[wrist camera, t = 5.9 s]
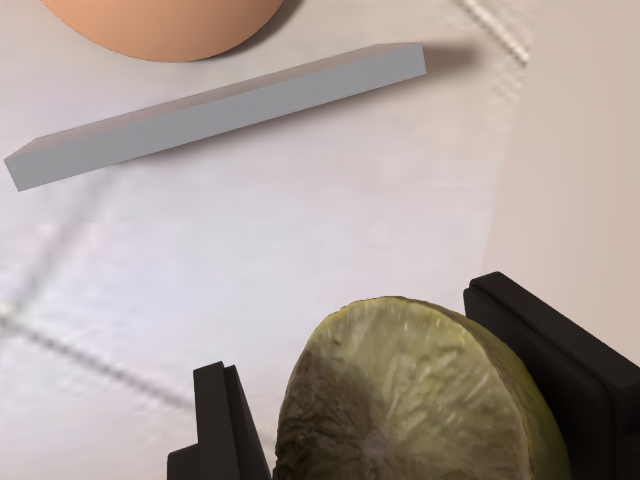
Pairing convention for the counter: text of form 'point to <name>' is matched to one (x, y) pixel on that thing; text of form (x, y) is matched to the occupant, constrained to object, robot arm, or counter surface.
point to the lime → (413, 402)
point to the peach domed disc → (165, 25)
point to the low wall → (211, 113)
